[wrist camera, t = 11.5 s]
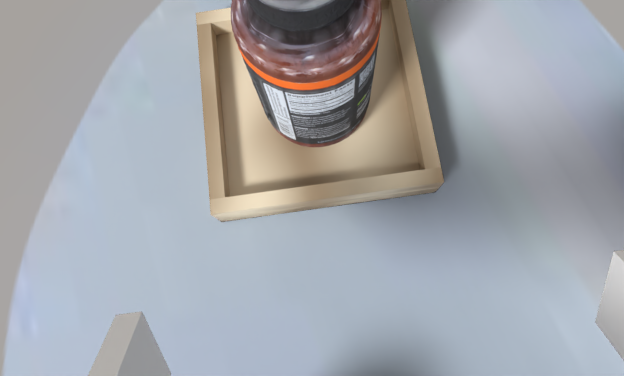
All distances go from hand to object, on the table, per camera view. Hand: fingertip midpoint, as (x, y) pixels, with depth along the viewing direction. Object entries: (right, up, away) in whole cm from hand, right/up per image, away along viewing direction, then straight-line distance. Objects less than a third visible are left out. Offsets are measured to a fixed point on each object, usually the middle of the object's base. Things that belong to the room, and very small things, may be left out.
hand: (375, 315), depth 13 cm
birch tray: (-2, +8, +14) cm, 16 cm away
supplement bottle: (-2, +9, +13) cm, 15 cm away
